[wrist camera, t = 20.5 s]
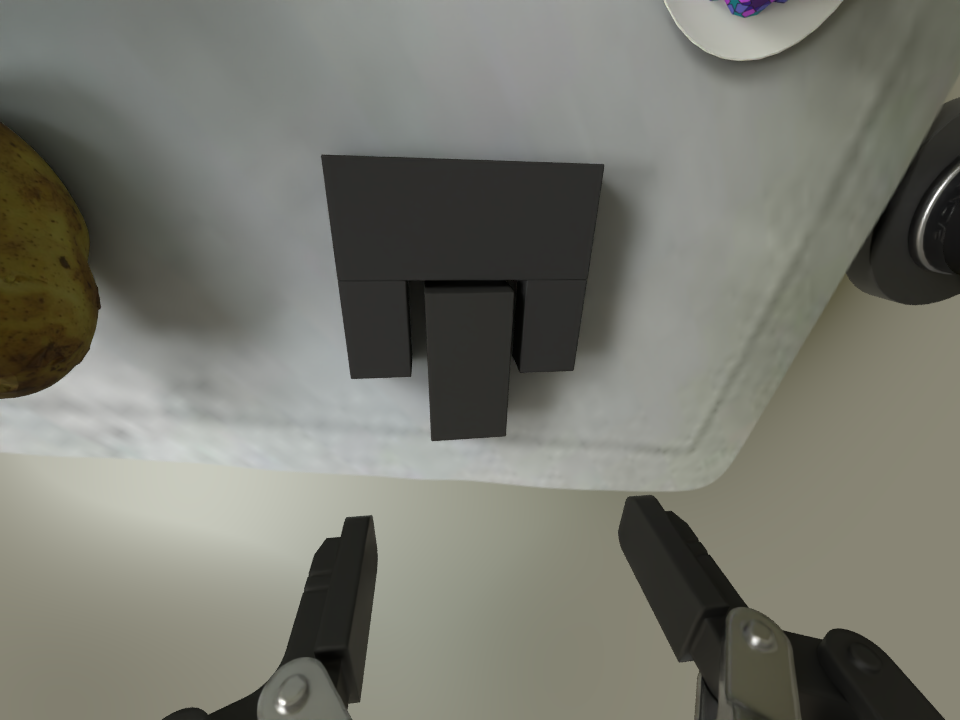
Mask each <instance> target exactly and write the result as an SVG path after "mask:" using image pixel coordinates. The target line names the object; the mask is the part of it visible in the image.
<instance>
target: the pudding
mask: <svg viewBox="0 0 960 720" xmlns="http://www.w3.org/2000/svg"><path fill="white" fill-rule="evenodd" d="M842 1H843V0H664V2H665V5H666V7H667V9H668V10H669V12H670V14H671V16H672V18H673V19H674V21H675V23H676V25H677V26H678V27H679V28H680V29H681V31H682V32H683V33H684V34H685V35H686V36H687V38H688V39H689V40H690V41H691V42H693V43H694V44H696V45H697V46H698V47H700V48H701V49H702V50H704V51H705V52H707V53H710V54H712V55H715V56H717V57H720V58H722V59H729V60H736V61H747V60H757V59H762V58H765V57H768V56H771V55H774V54H777V53H780V52H782V51H783V50H785V49H787V48H789V47H791V46H793V45H795V44H797V43H798V42H800V41H801V40H802V39H804V38H805V37H806V36H808V35H809V34H810V33H812V32H813V31H814V30H816V29H817V28H818V27H819V26H820V25H821V24H822V23H823V22H824V21H825V20H826V19H827V18H828V17H829V16H830V15H831V14H832V13H833V12H834V11H835V10H836V9H837V8H838V6H839V5H840V4H841V3H842Z"/></svg>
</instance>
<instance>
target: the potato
mask: <svg viewBox="0 0 960 720" xmlns="http://www.w3.org/2000/svg"><path fill="white" fill-rule="evenodd" d="M89 249H90V239H89V233H88V229H87V226H86V224H85V221H84V218H83V216H82V214H81V213H80V211H79V209H78V207H77V205H76V204H75V202H74V200H73V198H72V197H71V195H70V194H69V192H68V190H67V189H66V187H65V186H64V184H63V183H62V181H61V180H60V179H59V177H58V176H57V175H56V174H55V172H54V171H53V170H52V169H51V168H50V166H49V165H48V164H47V163H46V162H45V161H44V160H43V158H42V157H41V156H40V155H39V154H38V153H37V152H36V151H35V150H34V149H33V148H32V147H31V146H30V145H28V144H27V143H26V142H25V141H24V140H23V139H22V138H21V137H19V136H18V135H17V134H16V133H14V132H13V131H12V130H11V129H10V128H8V127H7V126H6V125H4V124H3V123H2V122H0V399H5V398H16V397H21V396H26V395H30V394H33V393H36V392H39V391H41V390H43V389H46V388H48V387H50V386H52V385H53V384H55V383H56V382H58V381H59V380H60V379H62V378H63V377H64V376H65V375H66V374H68V373H69V372H70V371H71V370H72V369H73V368H74V367H75V366H76V365H77V364H80V363H81V361H82V360H83V358H84V357H85V355H86V354H87V352H88V351H89V349H90V345H91V342H92V339H93V336H94V333H95V330H96V325H97V319H98V310H99V309H100V308H101V304H100V297H99V294H98V287H97V286H96V283H95V280H94V277H93V274H92V272H91V270H90V267H89V265H88V256H89Z"/></svg>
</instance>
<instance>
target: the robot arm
mask: <svg viewBox="0 0 960 720" xmlns="http://www.w3.org/2000/svg"><path fill="white" fill-rule="evenodd" d="M908 249H909V253H910V256H911V258H912V260H913V261H914V263H915V264H916V265H918V266H919V267H920V268H922V269H925V270H928V271H933V272H937V273H943V274H955V275H960V156H958V157H957V158H956V159H955V160H954V161H952V162H951V163H950V164H949V165H948V166H947V167H946V168H945V169H944V170H943V171H942V172H941V173H940V174H939V175H938V176H937V178H936V179H935V180H934V181H933V183H932V184H931V185H930V186H929V188H928V189H927V191H926V192H925V194H924V195H923V197H922V199H921V200H920V202H919V204H918V206H917V208H916V210H915V212H914V215H913V218H912V220H911V224H910V227H909V233H908ZM618 536H619V542H620V546H621V548H622V551H623V553H624V555H625V557H626V559H627V561H628V563H629V564H630V567H631V568H632V571H633V572H634V575H635V577H636V579H637V580H638V582H639V584H640V586H641V588H642V590H643V592H644V594H645V596H646V598H647V600H648V602H649V604H650V606H651V608H652V610H653V612H654V614H655V616H656V618H657V620H658V622H659V624H660V626H661V628H662V630H663V632H664V634H665V636H666V638H667V640H668V642H669V644H670V646H671V647H672V650H673V652H674V654H675V656H676V657H677V660H678V661H679V662H687V661H694V662H695V663H696V665H697V667H698V669H699V674H698V677H697V689H696V703H695V704H696V705H695V716H694V720H945V719H944V718H943V717H942V716H941V714H940V713H939V712H938V711H937V710H936V709H935V708H934V706H933V705H932V704H931V703H930V702H929V701H928V700H927V699H926V698H925V696H924V695H923V694H922V693H921V692H920V691H919V690H918V689H917V687H916V686H915V685H914V684H913V683H912V682H911V681H910V679H909V678H908V677H907V676H906V675H905V674H904V673H903V672H902V670H901V669H900V668H899V667H898V666H897V665H896V664H895V663H894V662H893V660H892V659H891V658H890V657H889V656H888V655H887V654H886V653H885V652H884V651H883V650H882V649H881V648H879V647H878V646H877V645H876V644H874V643H873V642H871V641H870V640H868V639H867V638H865V637H863V636H862V635H860V634H857V633H855V632H853V631H849V630H845V629H832V630H830V631H829V632H828V633H827V634H826V636H825V637H824V639H823V640H822V639H818V638H813V637H809V636H804V635H800V634H796V633H791V632H787V631H784V630H782V629H781V628H780V627H779V626H778V625H777V624H776V623H775V622H774V621H773V620H771V619H770V618H769V617H767V616H766V615H764V614H762V613H760V612H759V611H756V610H754V609H751V608H749V607H748V606H747V605H746V604H745V602H744V601H743V600H742V598H741V597H740V596H739V594H738V593H737V591H736V590H735V589H734V587H733V586H732V585H731V583H730V582H729V580H728V579H727V578H726V576H725V575H724V574H723V573H722V571H721V569H720V568H719V567H718V565H717V564H716V563H715V561H714V560H713V558H712V557H711V556H710V555H708V553H707V550H706V549H705V547H704V546H703V545H702V543H701V542H699V541H698V538H697V537H696V535H695V534H694V532H693V531H692V530H691V528H690V527H689V525H688V524H687V523H686V522H684V521H683V520H682V519H680V517H678V516H677V515H676V514H675V513H673V512H672V511H664V509H663V507H662V506H661V505H660V503H659V502H658V500H657V499H656V498H655V497H654V496H652V495H643V496H630V497H628V498H627V499H626V502H625V506H624V510H623V514H622V518H621V521H620V525H619V530H618ZM377 562H378V554H377V544H376V537H375V530H374V523H373V517H372V515H370V516H356V517H346V519H345V522H344V525H343V530H342V534H341V537H335V538H326V540H325V541H324V542H323V544H322V545H321V546H320V548H319V549H318V550H317V552H316V553H315V555H314V558H313V561H312V564H311V568H310V571H309V577H308V578H307V581H306V584H305V588H304V593H303V595H302V598H301V601H300V605H299V608H298V612H297V615H296V618H295V622H294V625H293V628H292V632H291V635H290V639H289V642H288V646H287V649H286V652H285V655H284V657H283V660H282V662H281V664H280V665H279V667H278V668H277V670H276V671H275V673H274V674H273V675H272V676H271V677H270V679H269V680H268V681H267V682H266V683H265V684H264V685H263V686H262V687H260V688H259V689H258V690H256V691H255V692H254V693H252V694H250V695H249V696H247V697H245V698H243V699H241V700H238V701H236V702H234V703H232V704H230V705H228V706H226V707H224V708H221V709H219V710H217V711H215V712H213V713H211V714H209V715H208V714H207V713H206V712H205V711H203V710H202V709H199V708H193V707H192V708H185V709H181V710H179V711H176V712H174V713H172V714H170V715H168V716H167V717H165V718H164V719H162V720H352V718H351V716H350V715H349V713H348V711H347V709H348V704H350V703H357V702H360V698H361V691H362V683H363V675H364V667H365V660H366V652H367V644H368V636H369V629H370V621H371V613H372V605H373V598H374V590H375V582H376V574H377Z"/></svg>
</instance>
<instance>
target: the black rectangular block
mask: <svg viewBox="0 0 960 720" xmlns="http://www.w3.org/2000/svg"><path fill="white" fill-rule="evenodd" d="M513 305H514V292H513V290H512V289H511V287H510V286H509V285H508V283H507V282H506V281H505V280H425V311H426V334H427V356H428V378H429V401H430V423H431V441H441V440H457V439H472V438H488V437H503V436H506V424H507V407H508V390H509V373H510V356H511V339H512V322H513Z"/></svg>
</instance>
